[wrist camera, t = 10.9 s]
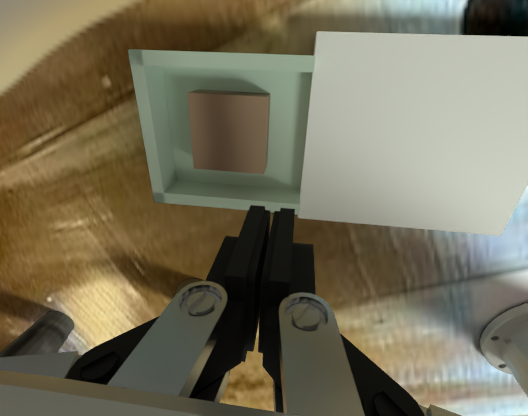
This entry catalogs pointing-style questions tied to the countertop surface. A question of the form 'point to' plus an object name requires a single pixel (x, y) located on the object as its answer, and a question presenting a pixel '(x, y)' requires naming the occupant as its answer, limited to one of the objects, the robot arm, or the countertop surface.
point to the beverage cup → (42, 336)
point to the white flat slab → (417, 131)
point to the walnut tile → (229, 130)
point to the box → (179, 134)
